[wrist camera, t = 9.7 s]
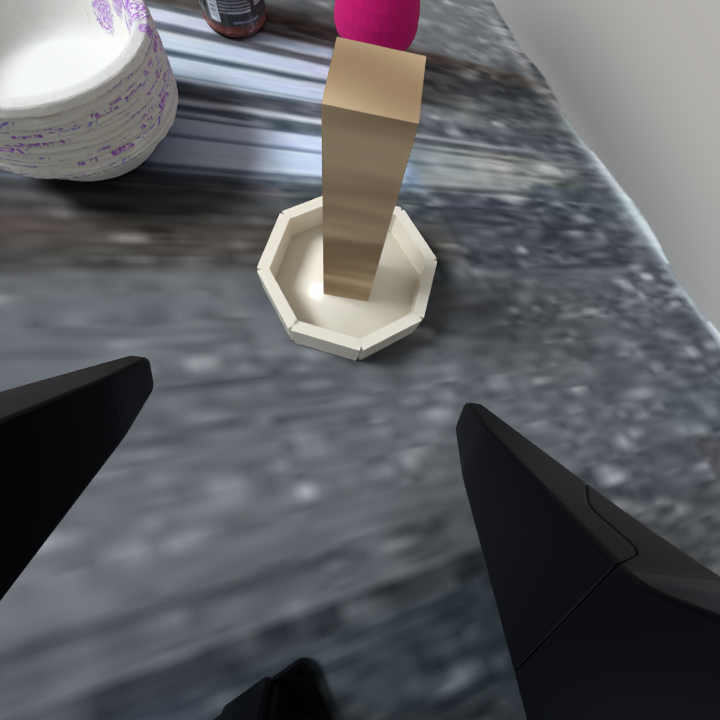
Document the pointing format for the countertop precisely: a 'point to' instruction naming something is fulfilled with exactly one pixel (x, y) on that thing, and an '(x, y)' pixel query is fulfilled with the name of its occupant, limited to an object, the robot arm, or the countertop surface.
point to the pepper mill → (378, 21)
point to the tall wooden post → (364, 157)
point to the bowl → (339, 314)
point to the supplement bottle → (234, 16)
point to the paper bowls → (81, 88)
